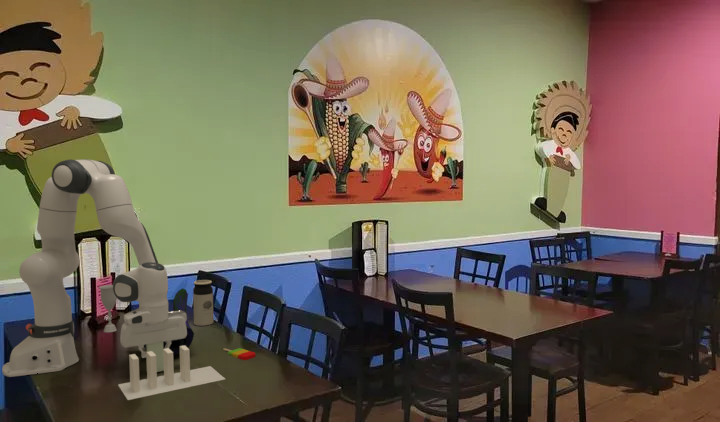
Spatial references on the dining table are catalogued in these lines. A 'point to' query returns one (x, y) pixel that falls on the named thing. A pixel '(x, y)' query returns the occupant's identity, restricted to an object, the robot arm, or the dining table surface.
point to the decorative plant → (181, 304)
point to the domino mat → (196, 378)
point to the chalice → (108, 304)
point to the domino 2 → (157, 354)
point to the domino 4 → (168, 366)
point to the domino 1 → (134, 373)
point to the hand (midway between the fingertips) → (154, 355)
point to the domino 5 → (185, 363)
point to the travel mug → (203, 302)
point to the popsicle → (241, 353)
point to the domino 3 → (151, 370)
